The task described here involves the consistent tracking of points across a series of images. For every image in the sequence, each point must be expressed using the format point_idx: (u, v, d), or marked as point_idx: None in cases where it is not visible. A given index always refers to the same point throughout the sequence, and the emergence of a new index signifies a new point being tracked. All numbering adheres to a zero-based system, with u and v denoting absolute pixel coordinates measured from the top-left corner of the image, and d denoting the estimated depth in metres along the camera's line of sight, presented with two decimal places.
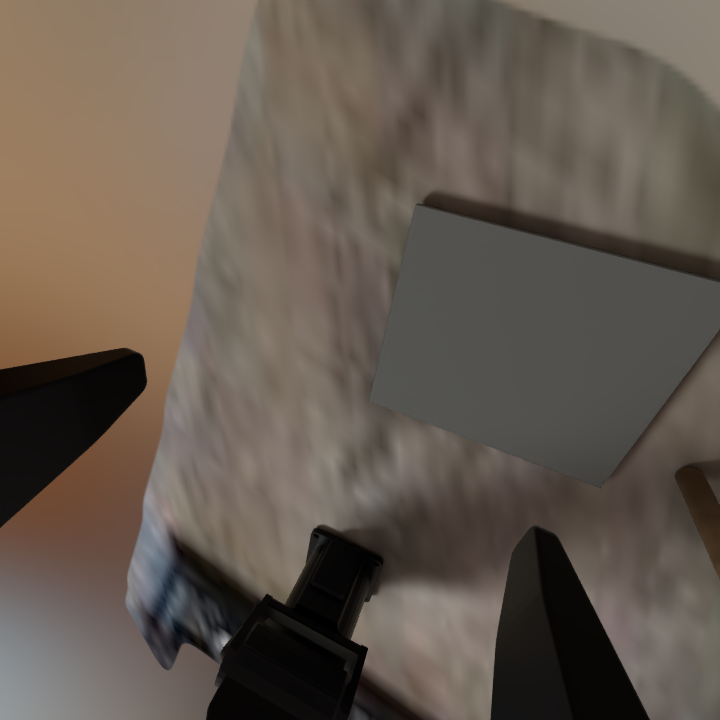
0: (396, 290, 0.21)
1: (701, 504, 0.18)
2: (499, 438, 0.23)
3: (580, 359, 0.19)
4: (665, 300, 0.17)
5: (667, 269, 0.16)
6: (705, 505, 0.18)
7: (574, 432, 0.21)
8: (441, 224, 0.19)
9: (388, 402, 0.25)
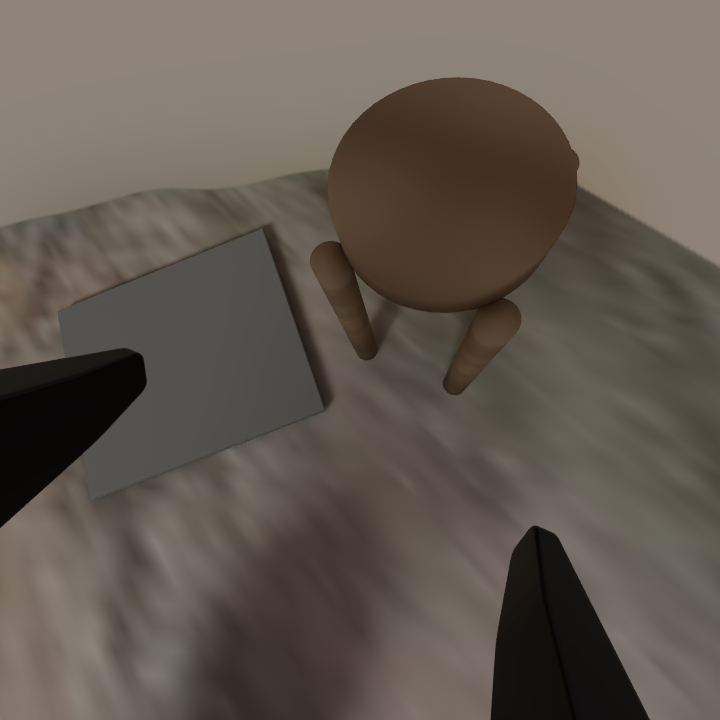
0: None
1: None
2: (219, 434, 0.22)
3: (219, 324, 0.24)
4: (231, 259, 0.24)
5: (217, 246, 0.25)
6: None
7: (263, 378, 0.22)
8: (79, 310, 0.25)
9: (109, 484, 0.22)
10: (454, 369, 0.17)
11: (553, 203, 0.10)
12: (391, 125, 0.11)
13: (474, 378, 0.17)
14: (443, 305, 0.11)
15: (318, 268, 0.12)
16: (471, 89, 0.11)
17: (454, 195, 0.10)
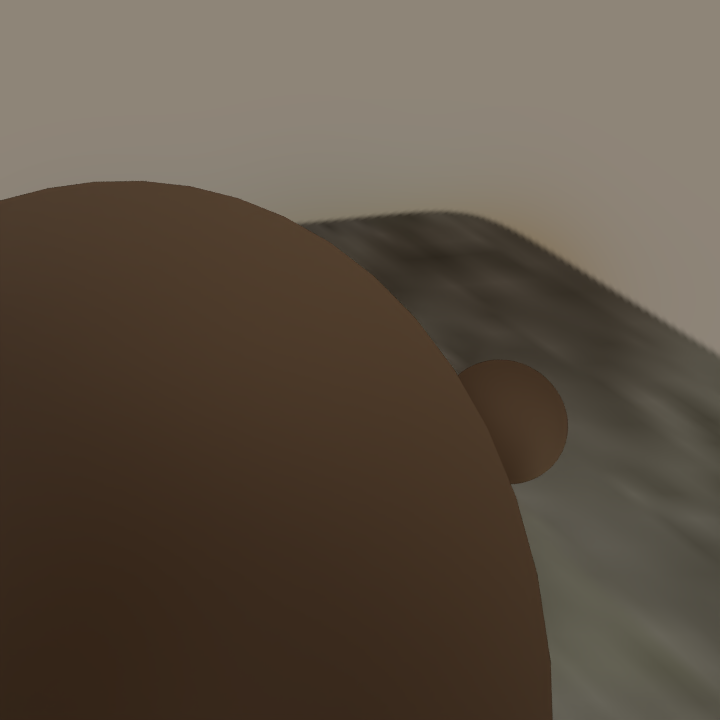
0: None
1: None
2: None
3: None
4: None
5: None
6: None
7: None
8: None
9: None
10: None
11: None
12: None
13: None
14: None
15: None
16: (175, 227, 0.03)
17: None
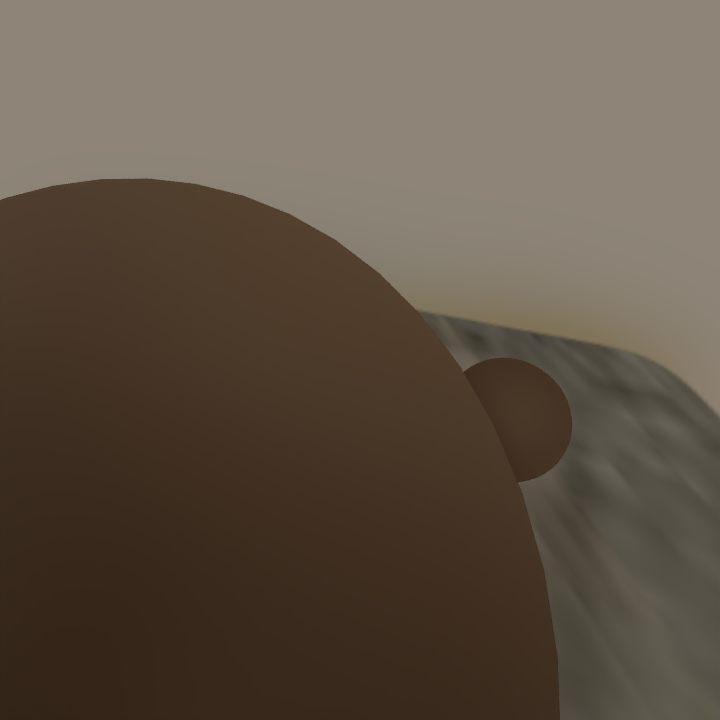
0: None
1: None
2: None
3: None
4: None
5: None
6: None
7: None
8: None
9: None
10: None
11: None
12: None
13: None
14: None
15: None
16: (180, 225, 0.03)
17: None
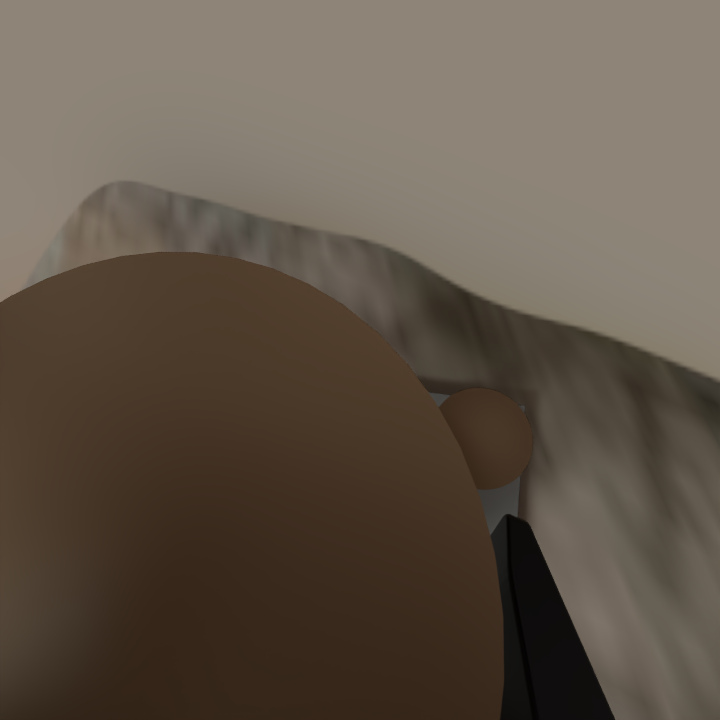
0: None
1: None
2: None
3: None
4: None
5: None
6: None
7: None
8: None
9: None
10: None
11: None
12: (0, 390, 0.04)
13: None
14: None
15: None
16: (223, 291, 0.04)
17: (115, 673, 0.03)
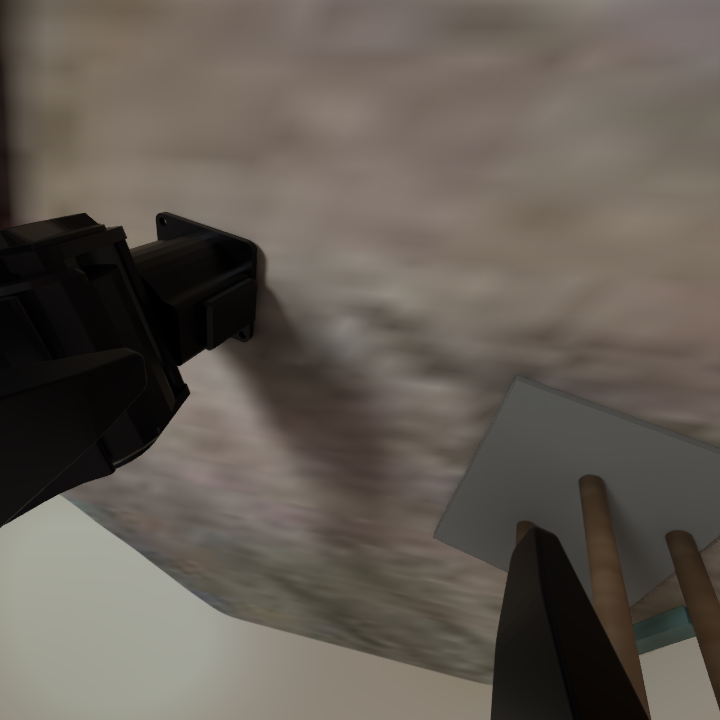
0: (680, 441, 0.18)
1: (606, 515, 0.19)
2: (474, 488, 0.24)
3: (565, 549, 0.24)
4: None
5: None
6: (608, 518, 0.18)
7: (488, 533, 0.25)
8: None
9: (514, 401, 0.20)
10: None
11: None
12: None
13: None
14: None
15: None
16: None
17: None
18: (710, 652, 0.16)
